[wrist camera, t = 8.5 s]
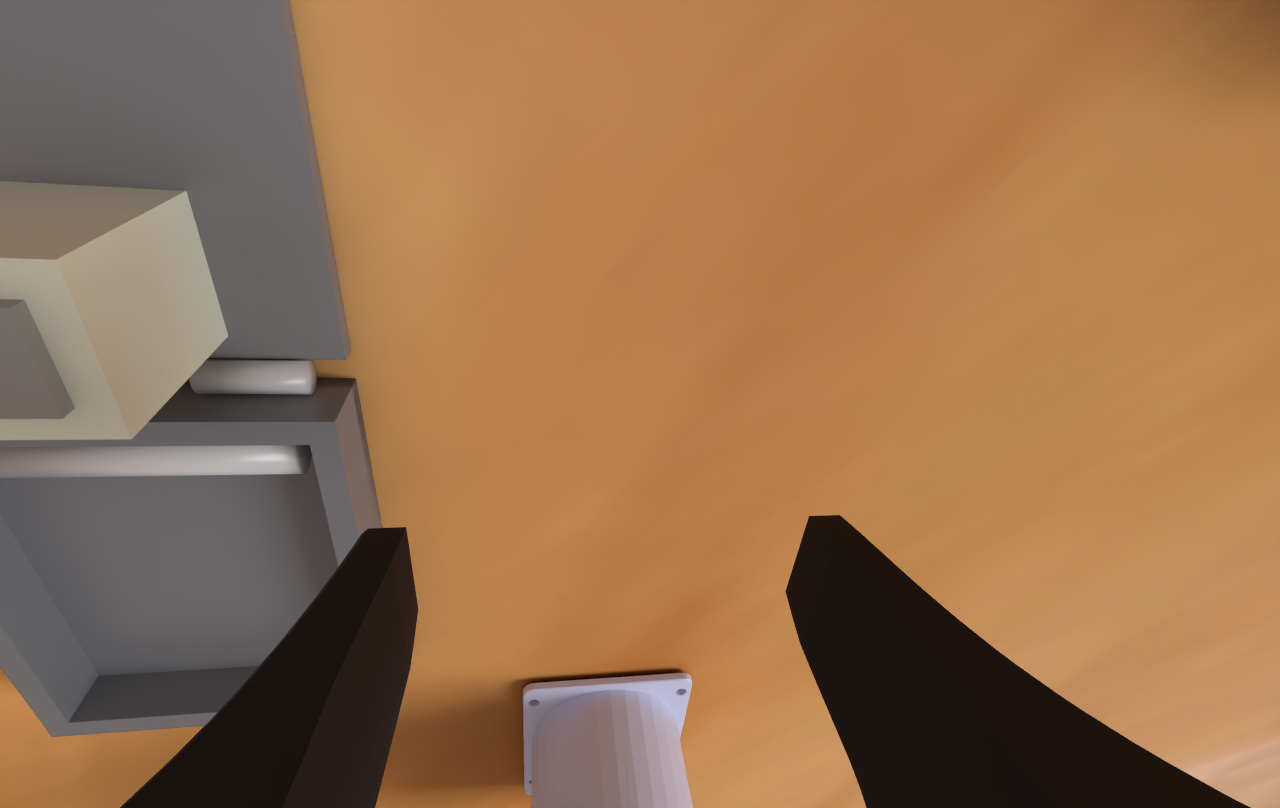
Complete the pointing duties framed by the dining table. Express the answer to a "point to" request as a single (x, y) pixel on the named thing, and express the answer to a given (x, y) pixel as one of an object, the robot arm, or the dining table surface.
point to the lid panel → (190, 155)
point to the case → (174, 552)
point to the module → (98, 308)
